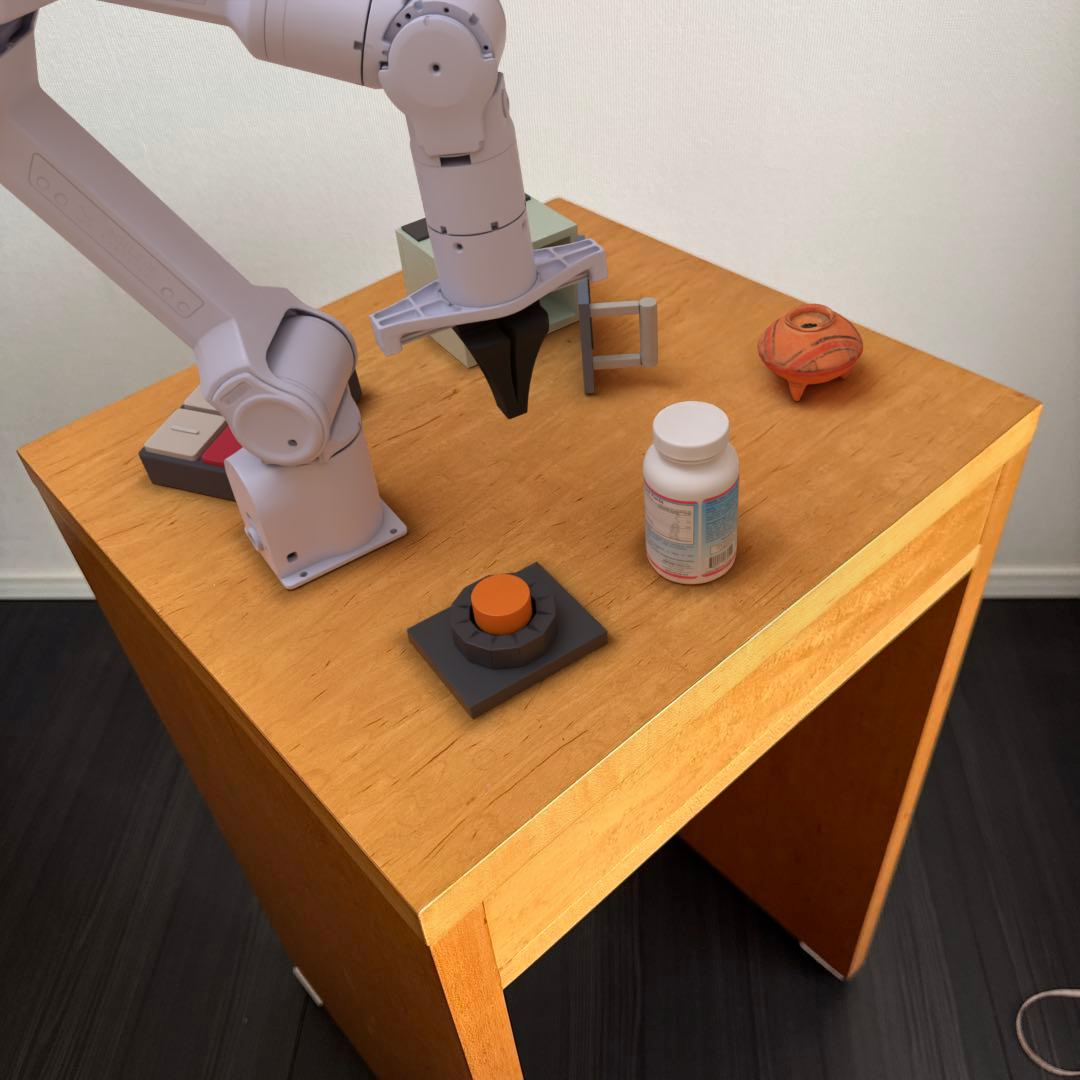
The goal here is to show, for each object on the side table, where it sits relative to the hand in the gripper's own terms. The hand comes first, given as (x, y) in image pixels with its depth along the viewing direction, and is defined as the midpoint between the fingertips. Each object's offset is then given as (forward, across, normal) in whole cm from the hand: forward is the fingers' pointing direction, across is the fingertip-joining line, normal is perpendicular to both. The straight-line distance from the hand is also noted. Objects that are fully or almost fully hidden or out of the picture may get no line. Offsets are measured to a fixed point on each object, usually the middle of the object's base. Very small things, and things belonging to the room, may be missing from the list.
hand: (512, 408), depth 72 cm
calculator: (+10, +15, -21) cm, 27 cm away
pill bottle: (+11, -8, +8) cm, 16 cm away
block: (+10, +6, +9) cm, 15 cm away
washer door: (+10, -15, -16) cm, 24 cm away
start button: (+8, +6, +9) cm, 13 cm away
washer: (+10, -9, -27) cm, 30 cm away
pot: (+12, -26, -5) cm, 29 cm away
